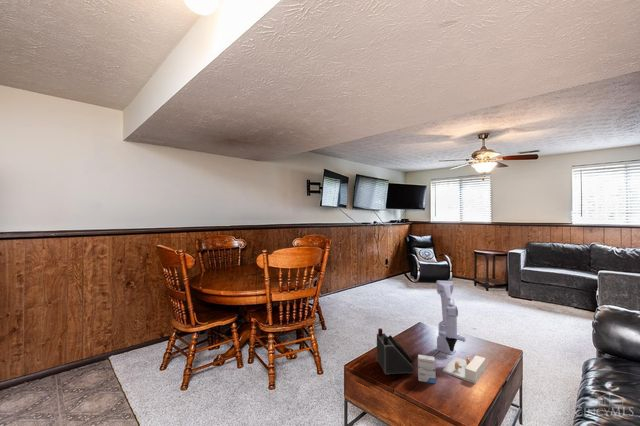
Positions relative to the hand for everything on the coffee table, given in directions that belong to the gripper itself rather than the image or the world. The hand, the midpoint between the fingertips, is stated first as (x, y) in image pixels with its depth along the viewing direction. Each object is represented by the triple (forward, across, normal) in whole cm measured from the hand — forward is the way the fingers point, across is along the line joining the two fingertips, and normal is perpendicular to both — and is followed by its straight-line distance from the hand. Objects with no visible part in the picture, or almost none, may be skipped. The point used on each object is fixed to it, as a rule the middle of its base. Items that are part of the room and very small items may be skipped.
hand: (451, 350), depth 163 cm
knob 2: (+6, +9, +2) cm, 11 cm away
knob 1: (+6, +6, -7) cm, 11 cm away
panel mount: (+7, +8, -3) cm, 11 cm away
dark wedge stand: (+8, -22, -27) cm, 36 cm away
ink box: (+8, -4, -26) cm, 28 cm away
